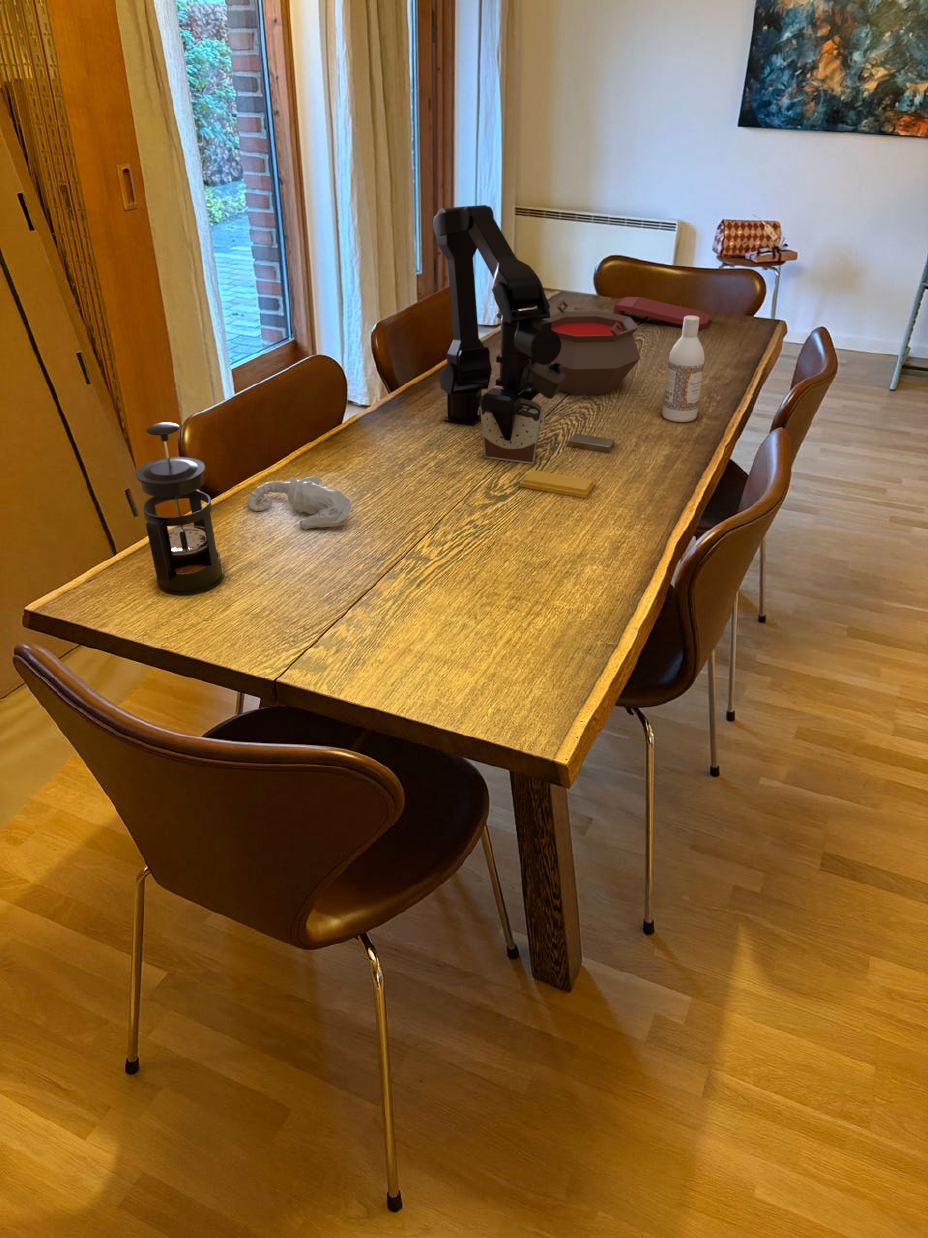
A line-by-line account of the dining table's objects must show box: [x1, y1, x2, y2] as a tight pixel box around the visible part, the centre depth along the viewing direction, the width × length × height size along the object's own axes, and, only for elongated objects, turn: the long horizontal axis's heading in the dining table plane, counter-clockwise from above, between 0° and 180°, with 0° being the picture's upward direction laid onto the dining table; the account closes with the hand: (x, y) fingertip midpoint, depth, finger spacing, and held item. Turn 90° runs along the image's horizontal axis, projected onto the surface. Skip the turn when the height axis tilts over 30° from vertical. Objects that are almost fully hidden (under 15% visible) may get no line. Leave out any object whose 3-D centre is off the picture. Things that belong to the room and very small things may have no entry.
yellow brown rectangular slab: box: [518, 469, 595, 499], centre depth 158 cm, size 12×5×1 cm, turn 67°
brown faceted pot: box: [541, 299, 642, 396], centre depth 200 cm, size 24×24×16 cm
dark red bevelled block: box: [612, 296, 711, 330], centre depth 250 cm, size 12×5×25 cm
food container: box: [478, 399, 546, 465], centre depth 168 cm, size 12×6×10 cm, turn 71°
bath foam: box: [661, 316, 705, 423], centre depth 182 cm, size 7×7×20 cm
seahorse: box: [247, 476, 353, 531], centre depth 148 cm, size 5×12×20 cm
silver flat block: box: [567, 433, 616, 453], centre depth 174 cm, size 8×4×1 cm, turn 66°
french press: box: [135, 422, 225, 596], centre depth 125 cm, size 12×9×23 cm
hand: (513, 434), depth 168 cm, fingers closed on food container, 6 cm apart
